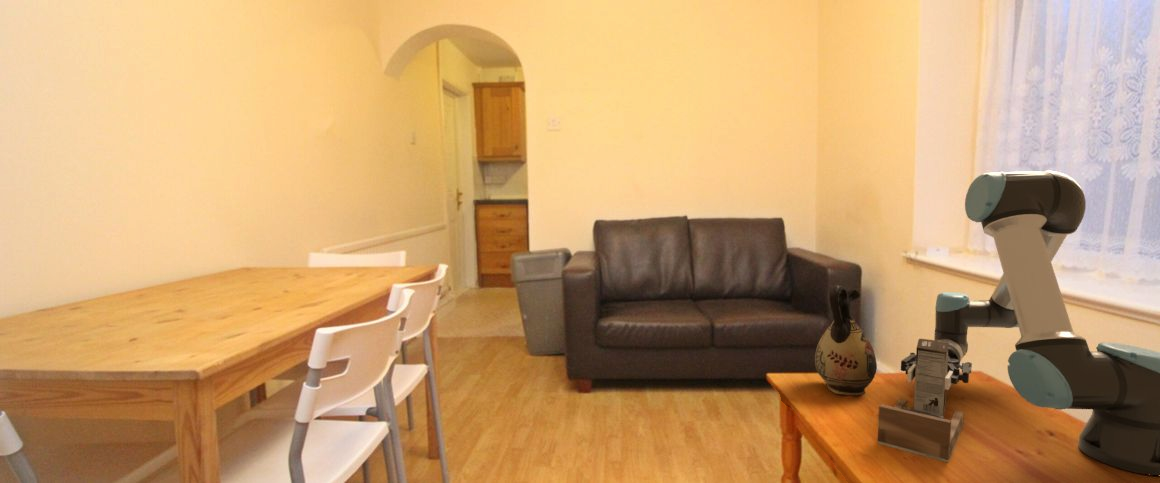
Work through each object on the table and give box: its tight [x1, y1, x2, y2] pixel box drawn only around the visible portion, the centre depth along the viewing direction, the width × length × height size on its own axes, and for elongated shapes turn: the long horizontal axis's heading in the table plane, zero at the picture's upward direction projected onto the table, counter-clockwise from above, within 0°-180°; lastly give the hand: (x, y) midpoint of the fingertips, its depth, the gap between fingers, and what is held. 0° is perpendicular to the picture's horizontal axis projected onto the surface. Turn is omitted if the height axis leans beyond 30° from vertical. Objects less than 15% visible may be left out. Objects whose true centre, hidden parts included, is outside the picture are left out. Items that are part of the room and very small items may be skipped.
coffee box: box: [913, 338, 949, 417], centre depth 130 cm, size 9×6×16 cm
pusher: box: [902, 407, 945, 419], centre depth 120 cm, size 5×8×4 cm, turn 48°
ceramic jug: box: [814, 284, 878, 397], centre depth 146 cm, size 17×15×30 cm
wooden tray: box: [877, 398, 964, 463], centre depth 121 cm, size 22×13×8 cm, turn 138°
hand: (927, 380), depth 126 cm, fingers closed on coffee box, 7 cm apart
